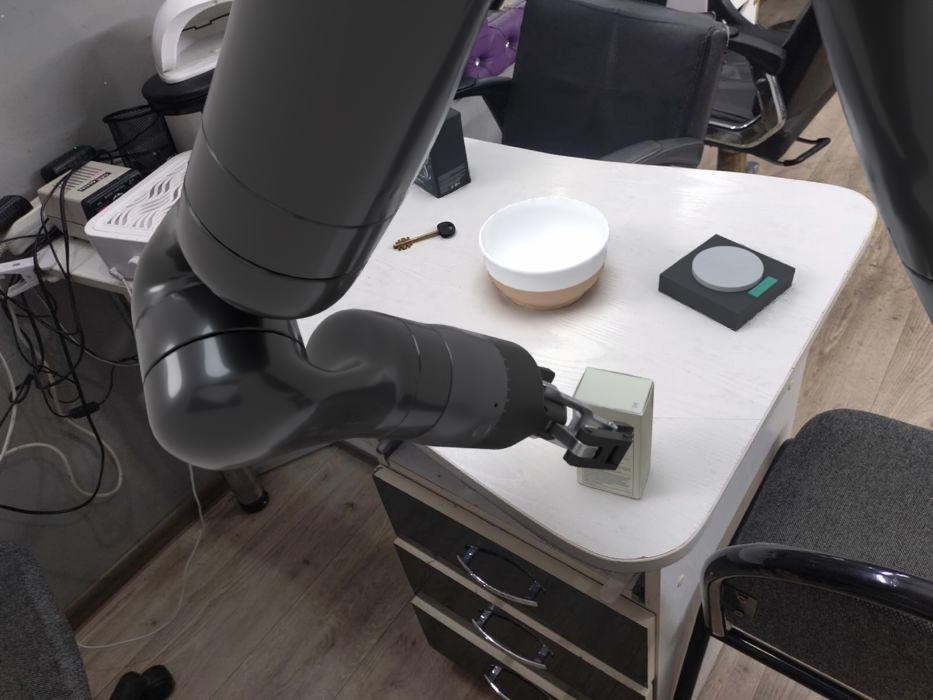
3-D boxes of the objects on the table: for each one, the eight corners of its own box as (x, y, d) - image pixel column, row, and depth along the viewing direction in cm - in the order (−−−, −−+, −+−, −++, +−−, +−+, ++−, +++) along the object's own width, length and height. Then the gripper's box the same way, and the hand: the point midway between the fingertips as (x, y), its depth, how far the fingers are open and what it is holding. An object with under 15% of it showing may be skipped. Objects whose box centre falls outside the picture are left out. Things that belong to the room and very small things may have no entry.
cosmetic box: (651, 465, 66) (659, 379, 58) (639, 502, 63) (646, 416, 55) (587, 448, 68) (586, 363, 60) (573, 482, 66) (570, 398, 57)
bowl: (558, 341, 80) (555, 289, 75) (459, 293, 89) (451, 243, 84) (634, 271, 88) (636, 219, 82) (536, 233, 96) (533, 184, 91)
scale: (791, 285, 82) (797, 262, 79) (735, 331, 78) (739, 308, 75) (713, 250, 89) (716, 228, 86) (658, 290, 84) (659, 268, 82)
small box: (393, 171, 115) (378, 103, 107) (426, 156, 117) (414, 87, 109) (437, 199, 106) (424, 127, 98) (472, 182, 109) (462, 110, 101)
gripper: (566, 395, 38) (679, 415, 51) (417, 289, 47) (545, 328, 59) (504, 505, 40) (629, 498, 52) (371, 382, 49) (505, 401, 61)
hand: (584, 408), depth 56 cm, fingers open, 8 cm apart
